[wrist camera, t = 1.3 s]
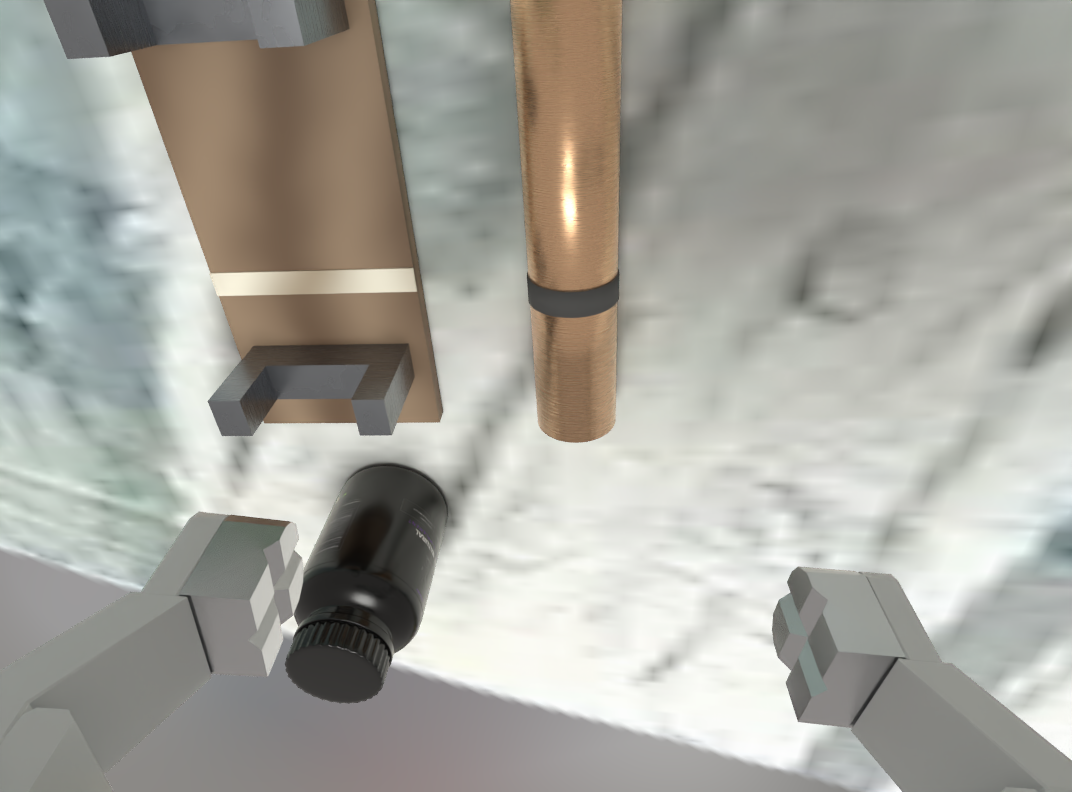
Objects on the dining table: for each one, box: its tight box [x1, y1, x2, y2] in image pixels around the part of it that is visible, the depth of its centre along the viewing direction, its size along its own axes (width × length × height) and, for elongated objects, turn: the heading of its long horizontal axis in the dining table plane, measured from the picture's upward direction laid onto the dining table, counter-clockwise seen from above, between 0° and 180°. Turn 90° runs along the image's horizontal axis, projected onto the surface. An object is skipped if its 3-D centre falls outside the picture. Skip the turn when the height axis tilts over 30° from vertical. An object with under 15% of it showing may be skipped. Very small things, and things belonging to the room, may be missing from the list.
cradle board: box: [131, 0, 443, 423], centre depth 30 cm, size 10×24×1 cm, turn 3°
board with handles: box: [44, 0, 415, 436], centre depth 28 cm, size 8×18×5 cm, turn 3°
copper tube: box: [510, 0, 622, 443], centre depth 28 cm, size 22×4×4 cm, turn 3°
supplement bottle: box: [285, 466, 447, 703], centre depth 36 cm, size 7×7×12 cm
